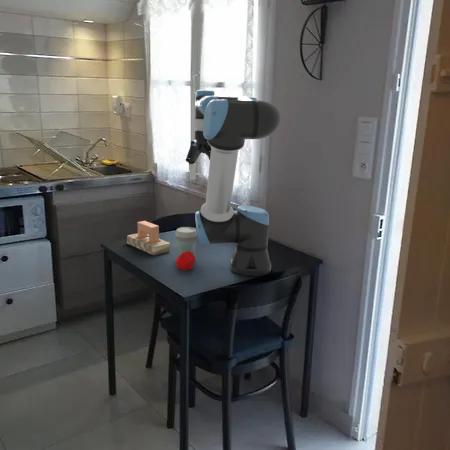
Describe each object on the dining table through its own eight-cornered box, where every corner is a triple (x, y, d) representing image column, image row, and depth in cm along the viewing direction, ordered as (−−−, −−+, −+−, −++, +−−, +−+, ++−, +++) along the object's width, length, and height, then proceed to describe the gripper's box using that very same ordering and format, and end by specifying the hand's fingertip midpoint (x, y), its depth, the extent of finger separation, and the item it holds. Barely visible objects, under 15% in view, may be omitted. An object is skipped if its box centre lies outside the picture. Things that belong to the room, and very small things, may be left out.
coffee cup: (193, 264, 182) (194, 233, 179) (172, 261, 183) (172, 231, 180) (199, 256, 190) (200, 227, 187) (178, 254, 192) (178, 225, 188)
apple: (179, 259, 171) (195, 247, 175) (169, 257, 176) (184, 246, 181) (187, 275, 174) (202, 263, 178) (176, 273, 179) (191, 261, 183)
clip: (158, 249, 197) (158, 226, 194) (151, 251, 195) (151, 227, 192) (144, 243, 204) (144, 220, 201) (137, 245, 201) (137, 222, 199)
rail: (170, 251, 195) (170, 243, 194) (153, 255, 190) (153, 246, 189) (143, 239, 208) (142, 232, 207) (127, 243, 203) (127, 235, 202)
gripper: (232, 132, 187) (231, 185, 193) (191, 127, 204) (190, 176, 210) (218, 132, 182) (217, 187, 188) (177, 127, 199) (177, 178, 205)
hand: (203, 182), depth 199 cm, fingers open, 13 cm apart
